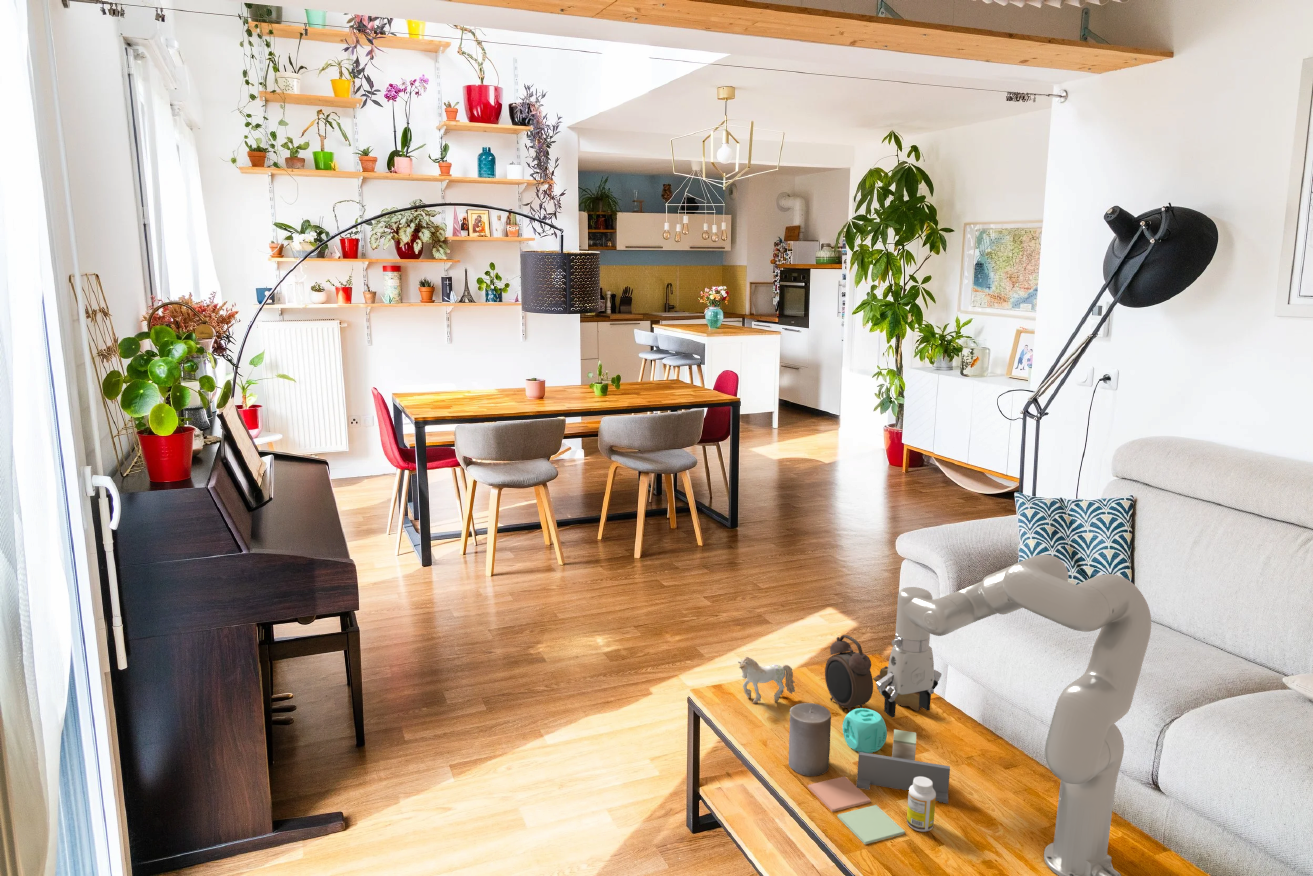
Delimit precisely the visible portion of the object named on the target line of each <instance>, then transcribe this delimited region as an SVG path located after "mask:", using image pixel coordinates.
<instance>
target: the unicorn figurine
mask: <svg viewBox="0 0 1313 876" xmlns="http://www.w3.org/2000/svg"><path fill="white" fill-rule="evenodd" d="M737 663H738V664H739V666H738V668H739V669H740V670H741V673H742V675H741V677H742V679H746V680H745V681H744V682H743V684H742V688H743V691H744V694H745V695H746V698H748V699H751V697H752V690H751V689H750V688H748V687H747V686H748V685H749V684H750V683H752V686H753V688H754V692H755V698H754V699H753V701H752V704H756V705H757V704H758V702H761V701H762V700H761V698H762V695H761V694H760V691H759V686H758V684H765V683H769V682H771V681H773V682H774V683H776V685H777V687H778V689H777V690H776V692H775V693H774V694H773V699H774V703H778V702H779V701H780V700H779V699H780V697H781V696H782V695H783V693H784V689H785V688H786V691H787V692H788V693H789V694H791V695H792V694H793V693H795V692H796V687H795V685H794V684H795V683H796V682H795V680H794V679H793V677H794V673H793V667H791V666H790V665H788V664H783V665H779V664H772V665H767V666H761V665H759V663H758V662H757V661H756V660H755V659H754V658H752V657H749V656H745V657H743V658H741V661H737ZM783 680H785V684H784V682H783ZM784 685H785V686H784Z"/></svg>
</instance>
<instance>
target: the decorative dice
mask: <svg viewBox="0 0 1313 876" xmlns="http://www.w3.org/2000/svg"><path fill="white" fill-rule="evenodd" d="M842 733H843V734H842V735H843V738H844V740H845V743H846V744H847V746H848V747H849V748H850V749H851V748H852V749H851V750H853V749H854V750H853V751H854V752H857V751H858V753H859V752H864V753H870V754H874V753H876V752H878V751H879V750H880V749H882V748H883V746H884V745H885V743H886V741H887V737H888V731H887V726H886V722H885V720H884V718H883V717H882V715H881V714H880V713H879V712H878V711H875V710H873V709H870V708H866V707H865V708H863V707H862V708H858V707H857V708H855V709H851V712H849V711H848V713H847V714H846V715H845V716H844V719H843V722H842ZM873 752H874V753H873Z"/></svg>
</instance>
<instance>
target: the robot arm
mask: <svg viewBox="0 0 1313 876" xmlns="http://www.w3.org/2000/svg"><path fill="white" fill-rule="evenodd" d="M1069 577H1070V576H1069V570H1068V568H1067V566H1066V564H1065V563H1064V562H1063V561H1062V560H1061V559H1060V558H1058V557H1056V556H1054V555H1051V554H1037V555H1033V556H1031V557H1029V558H1026V559H1023V560H1022V561H1019V562H1016V563H1014V564H1012V565H1010V566H1007V567H1005V568H1003V569H1000V570H998V571H995V572H993V573H989V574H987V575H986V576H985V577H984V578H983V579H982V580H981V581H979V582H977V583H975V584H972V585H970V586H967V587H964V588H963V589H960V590H958V591H954V592H953V593H950V594H945V595H944V596H941V597H939V598H935V599H934V598H933V595H932V593H931V592H930V591H929V590H927V589H924V588H921V587H917V586H907V587H903V588H902V589H901V590H899V592H898V595H897V606H896V607H897V608H896V622H895V636H894V639H892V640H891V645H892V648H891V651H890V654H889V655H890V656H889V660H888V665H887V667H888V672H887V675H886V676H885V677H883V678H882V679H881V680H879V681H878V682H875V685H876V687H877V688H878V689H877V690H878V693H879V694H881V696H882V698H884V707H883V710H884V711H883V712H884V713H885V714H886V715H887V716H889V718H891V719H894V718H895V716H896V709H897V708H896V707H897V704H896V702H895V701H894V699H895V698H896V697H897V695H898V694H901V695H904V694H910V693H915V692H920V695H919V705H920V706H921V707H922V708H921V709H924V710H925V711H926V712H927V711H930V710H931V700H932V699H931V698H932V697H931V696H932V695H933V694H934V693H935V691H934V690H935V689H936V688H937V686H938V685H939V681H940V680H941V677H942V672H940V671H939V670H936V669H935V665H934V663H935V662H934V654H933V648H932V647H931V646H930V639H931V635H933V636H935V637H936V636H937V637H942V636H946V635H948V634H950V633H953V632H955V631H957V630H959V629H961V628H963V627H966V626H969V625H971V624H973V623H976V622H978V621H981V620H983V619H985V618H989V617H991V616H994V615H997V614H998V615H999V614H1000V615H1008V614H1010V613H1013V612H1015V611H1018V610H1021V609H1025V610H1027V611H1028V612H1031V613H1033V614H1035V615H1038V616H1040V617H1042V618H1045V619H1047V620H1050V621H1052V622H1054V623H1057V624H1058V625H1061V626H1063V627H1065V628H1068V629H1071V630H1073V631H1078V632H1084V633H1085V632H1093V631H1096V630H1099V629H1100V630H1099V633H1098V635H1097V638H1096V640H1095V642H1094V643H1093V644H1094V645H1093V647H1092V650H1091V656H1090V659H1089V662H1088V665H1087V667H1086V670H1085V672H1084V673H1083V674H1082V675H1081V676H1080V677H1078V678H1077V679H1075V680H1074V681H1072V682H1071V683H1069V684H1068V685H1067V686H1065V688H1064V689H1063V690H1062V691H1061V693H1060V695H1059V696H1058V697H1057V700H1056V703H1055V704H1056V705H1055V708H1054V711H1053V715H1052V717H1051V721H1050V725H1049V726H1050V727H1049V729H1048V733H1047V737H1046V740H1045V746H1044V757H1045V762H1046V763H1047V766H1048V767H1049V770H1050V771H1051V772H1052V774H1053V775H1054V776H1055V777H1056V778H1058V779H1059V780H1060V785H1059V792H1058V800H1057V801H1058V802H1057V809H1056V820H1055V828H1054V837H1053V842H1051V843H1049V844H1048V845H1047V846H1045V848H1044V851H1043V853H1044V854H1043V858H1044V862H1045V864H1046V866H1047V867H1048V868H1049V869H1050V870H1051V871H1052V872H1053V873H1054V874H1055V875H1057V876H1122V874H1121V873H1120V872H1118V870H1116V869H1114V867H1113V864H1112V856H1111V855H1109V854H1108V847H1109V840H1110V832H1111V824H1112V816H1113V807H1114V800H1115V794H1116V785H1117V782H1118V776H1119V772H1120V769H1121V765H1122V763H1123V762H1122V761H1123V757H1124V751H1125V743H1124V742H1125V741H1124V737H1123V734H1122V732H1121V730H1120V729H1119V728H1118V726H1117V724H1116V723H1117V722H1118V721H1120V719H1122V718H1124V716H1126V715H1127V714H1128V712H1130V709H1131V705H1132V703H1133V699H1134V696H1135V693H1136V692H1135V691H1136V689H1137V684H1138V681H1139V678H1140V674H1141V671H1142V666H1143V664H1144V663H1143V662H1144V659H1145V656H1146V653H1147V649H1148V647H1149V642H1150V638H1151V631H1152V616H1151V614H1152V613H1151V610H1150V606H1149V604H1148V602H1147V600H1146V598H1145V596H1144V594H1143V593H1142V591H1140V590H1139V588H1138V587H1137V586H1136V585H1135V584H1134V583H1133V582H1131V581H1130V580H1129V579H1127V578H1125V577H1123V576H1121V575H1119V574H1114V573H1113V574H1111V573H1109V574H1108V573H1106V574H1100V575H1096V576H1093V577H1091V578H1089V579H1086V580H1084V581H1082V582H1080V583H1078V584H1075V583H1072V582H1070V581H1069ZM886 685H888V687H887V688H886V689H885V686H886ZM892 690H894V691H893V692H892V694H891V695H890V692H891V691H892Z"/></svg>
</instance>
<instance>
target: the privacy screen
mask: <svg viewBox="0 0 1313 876" xmlns="http://www.w3.org/2000/svg"><path fill="white" fill-rule="evenodd" d="M857 759H858V760H857V772H856V773H857V775H856V784H855V786H856V787H857V788H858V789H859V790H868V791H870V790H871V785H872V786H876V787H877V786H879V787H884V788H890V789H896V790H900V789H902V791H906V790H909V788H910V786H911V785H913V780H914V778H915V777H919V776H921V777H926V778H928V779H930V780H931V781H932V783H933V789H934V790H935V792H936V800H935V802H936V801H939V802H938V803H942V802H943V803H944V804H949V787H950V773H951V767H950V765H944V764H937V763H932V762H925V761H919V760H915V761H914V760H907V759H901V758H895V757H892V756H888V755H887V756H886V755H881V754H875V753H864V752H858V758H857Z"/></svg>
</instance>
